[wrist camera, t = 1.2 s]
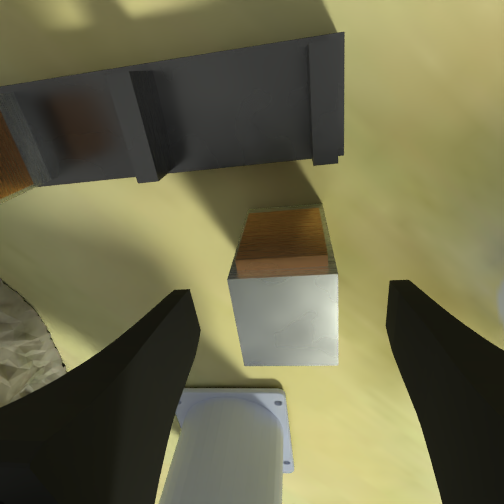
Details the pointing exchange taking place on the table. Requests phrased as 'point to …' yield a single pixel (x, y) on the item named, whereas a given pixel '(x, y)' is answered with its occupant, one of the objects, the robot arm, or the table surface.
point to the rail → (176, 116)
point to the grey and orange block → (285, 288)
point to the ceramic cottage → (24, 349)
